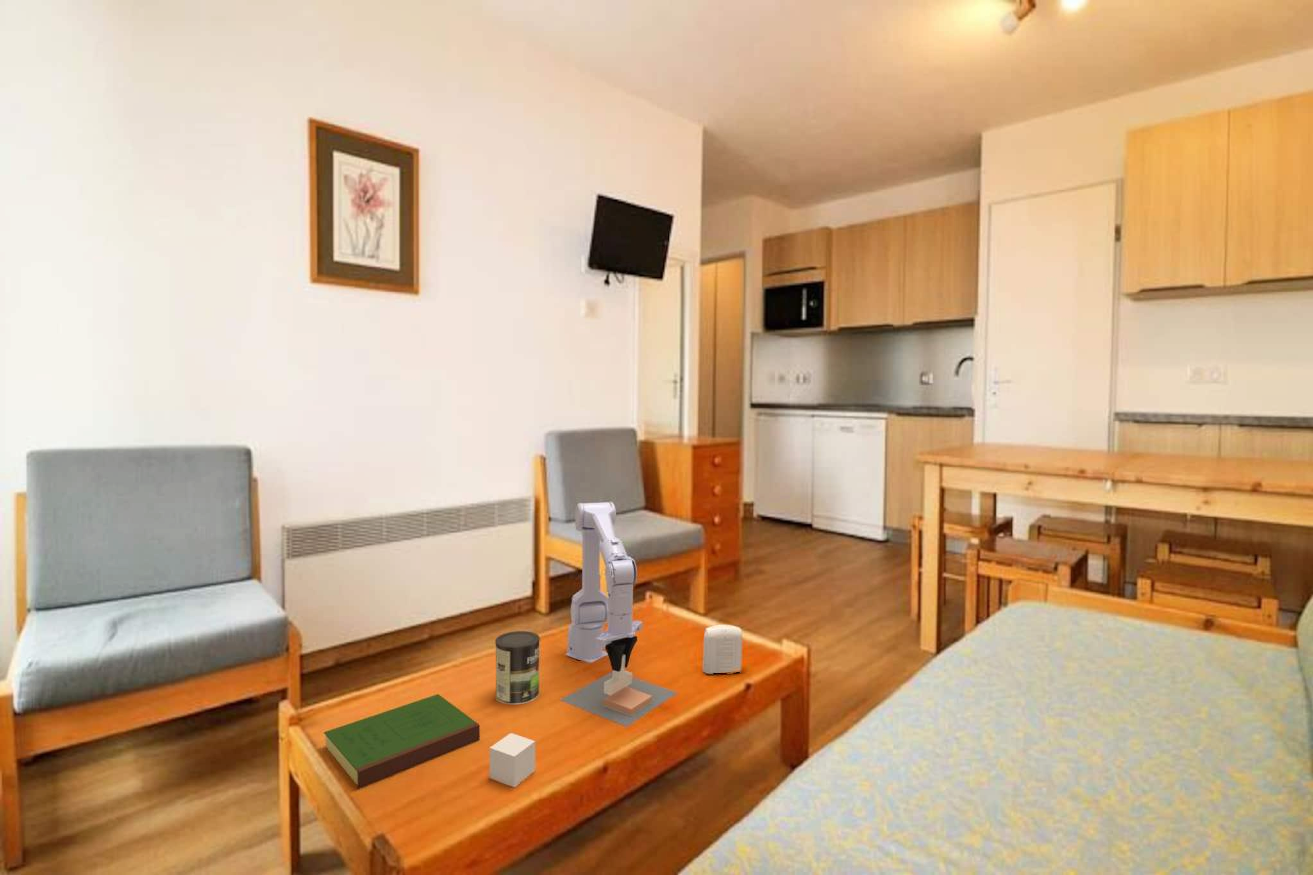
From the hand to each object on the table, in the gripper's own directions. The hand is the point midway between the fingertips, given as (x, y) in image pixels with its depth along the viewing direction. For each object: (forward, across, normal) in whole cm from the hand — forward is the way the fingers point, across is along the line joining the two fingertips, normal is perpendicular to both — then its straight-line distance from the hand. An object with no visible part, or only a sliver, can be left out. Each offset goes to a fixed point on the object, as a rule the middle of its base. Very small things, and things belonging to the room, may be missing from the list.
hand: (619, 668), depth 149 cm
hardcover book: (+9, -40, +24) cm, 48 cm away
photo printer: (+9, +30, -10) cm, 33 cm away
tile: (+7, 0, +1) cm, 7 cm away
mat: (+8, +2, +2) cm, 9 cm away
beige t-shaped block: (+5, 0, 0) cm, 5 cm away
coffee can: (+9, -12, +22) cm, 26 cm away
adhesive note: (+9, -34, -2) cm, 35 cm away
